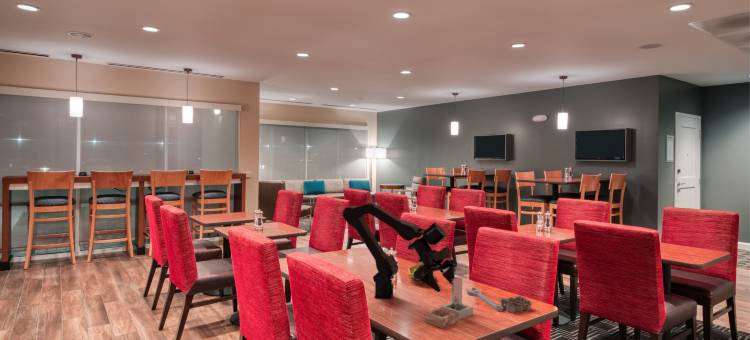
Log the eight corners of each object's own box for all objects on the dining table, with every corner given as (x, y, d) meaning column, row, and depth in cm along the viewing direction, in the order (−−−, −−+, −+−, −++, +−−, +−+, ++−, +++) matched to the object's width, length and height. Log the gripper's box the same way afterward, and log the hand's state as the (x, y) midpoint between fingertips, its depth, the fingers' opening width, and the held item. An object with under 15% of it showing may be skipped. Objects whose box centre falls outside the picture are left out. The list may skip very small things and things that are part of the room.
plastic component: (407, 268, 215) (427, 259, 215) (414, 282, 215) (433, 273, 215) (409, 276, 195) (430, 266, 195) (416, 292, 195) (438, 282, 195)
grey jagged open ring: (508, 314, 163) (509, 302, 162) (496, 307, 170) (497, 296, 169) (534, 311, 166) (534, 300, 166) (521, 304, 173) (521, 293, 173)
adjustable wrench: (504, 312, 165) (504, 307, 165) (487, 313, 164) (487, 308, 164) (478, 291, 189) (478, 286, 189) (463, 291, 188) (463, 287, 188)
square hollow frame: (458, 319, 155) (458, 312, 155) (440, 313, 161) (440, 306, 161) (472, 314, 161) (473, 307, 161) (454, 308, 167) (454, 301, 166)
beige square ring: (442, 328, 147) (442, 319, 147) (424, 321, 153) (424, 312, 153) (457, 322, 153) (457, 313, 153) (440, 316, 158) (440, 307, 158)
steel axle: (451, 315, 159) (452, 279, 159) (451, 311, 163) (451, 276, 163) (461, 315, 159) (462, 280, 158) (461, 312, 163) (462, 277, 162)
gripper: (420, 243, 160) (444, 281, 153) (453, 237, 173) (477, 272, 165) (403, 261, 167) (425, 298, 159) (437, 254, 179) (458, 289, 171)
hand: (447, 289), depth 163 cm, fingers open, 9 cm apart
